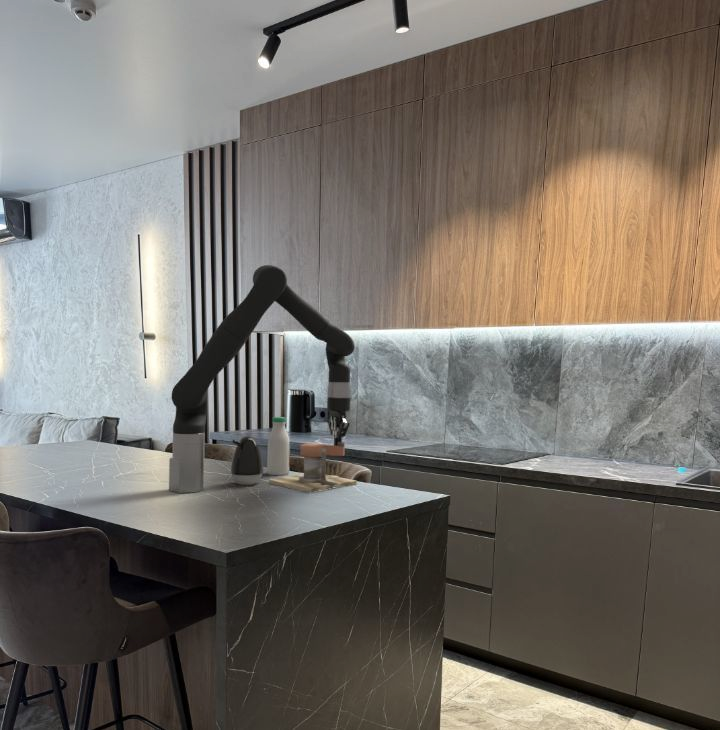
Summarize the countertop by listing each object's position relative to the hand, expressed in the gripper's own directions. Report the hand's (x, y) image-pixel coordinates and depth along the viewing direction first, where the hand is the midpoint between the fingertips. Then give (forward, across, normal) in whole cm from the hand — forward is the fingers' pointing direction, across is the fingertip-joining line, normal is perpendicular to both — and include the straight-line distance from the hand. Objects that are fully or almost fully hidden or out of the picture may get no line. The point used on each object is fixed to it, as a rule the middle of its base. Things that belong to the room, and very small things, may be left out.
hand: (337, 449), depth 193 cm
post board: (+11, +2, +8) cm, 14 cm away
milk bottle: (+12, +23, +12) cm, 29 cm away
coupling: (+2, 0, +5) cm, 6 cm away
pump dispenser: (+12, +10, +27) cm, 31 cm away
